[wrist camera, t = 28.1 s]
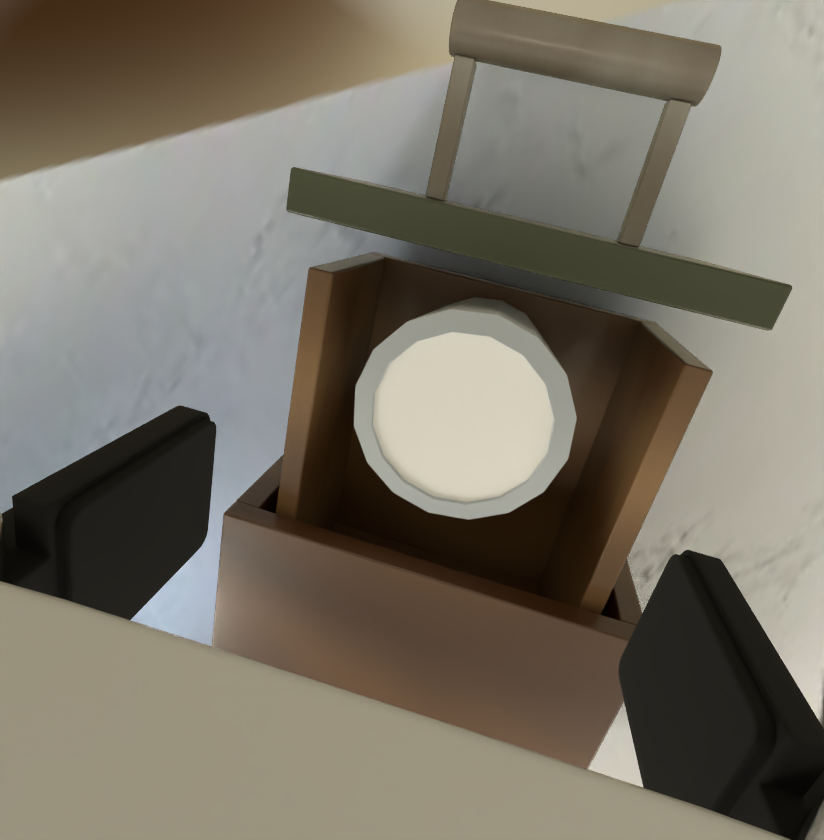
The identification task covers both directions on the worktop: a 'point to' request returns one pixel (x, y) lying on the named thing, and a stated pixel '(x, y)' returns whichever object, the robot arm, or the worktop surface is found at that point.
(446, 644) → the cabinet
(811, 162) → the worktop surface
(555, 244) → the drawer
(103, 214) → the worktop surface
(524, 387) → the white candle jar
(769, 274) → the worktop surface
